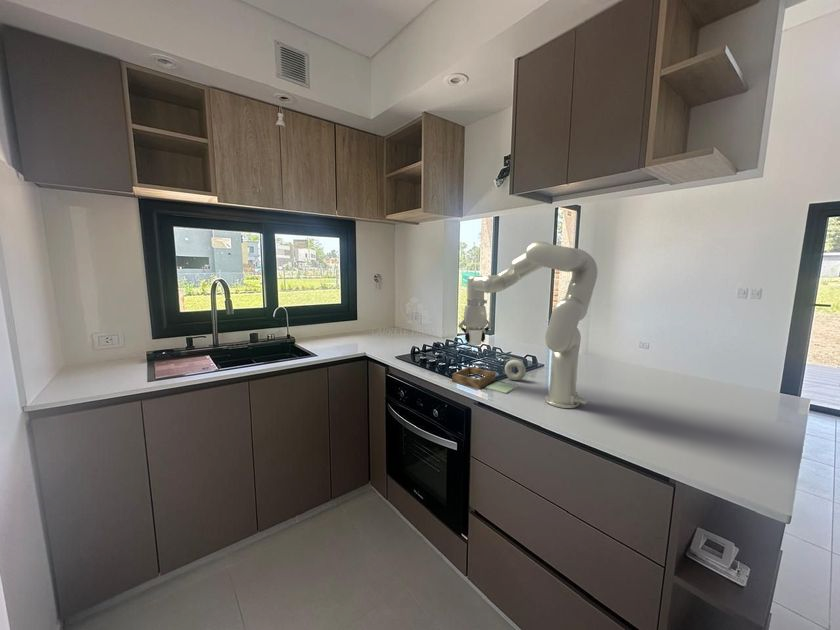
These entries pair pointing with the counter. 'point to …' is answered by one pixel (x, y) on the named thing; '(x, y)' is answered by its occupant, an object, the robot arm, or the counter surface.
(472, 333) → the white cylinder
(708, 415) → the counter surface
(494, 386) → the green mat
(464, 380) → the walnut box
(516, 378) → the donut
